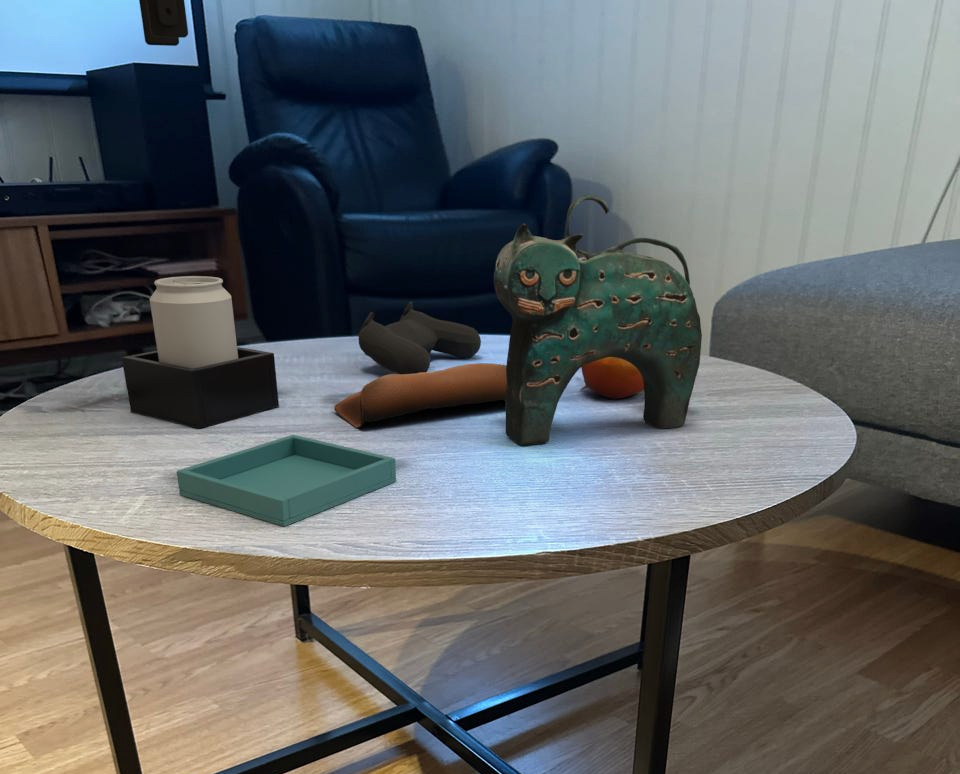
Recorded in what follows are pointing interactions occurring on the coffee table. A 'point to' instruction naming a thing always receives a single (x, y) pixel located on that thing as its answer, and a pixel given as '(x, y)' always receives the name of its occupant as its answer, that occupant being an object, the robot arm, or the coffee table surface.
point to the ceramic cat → (593, 325)
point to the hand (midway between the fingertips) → (166, 41)
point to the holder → (201, 388)
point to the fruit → (612, 378)
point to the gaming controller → (415, 341)
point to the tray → (286, 478)
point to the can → (193, 321)
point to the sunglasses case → (424, 392)
